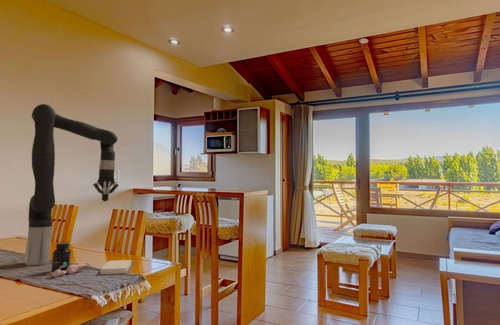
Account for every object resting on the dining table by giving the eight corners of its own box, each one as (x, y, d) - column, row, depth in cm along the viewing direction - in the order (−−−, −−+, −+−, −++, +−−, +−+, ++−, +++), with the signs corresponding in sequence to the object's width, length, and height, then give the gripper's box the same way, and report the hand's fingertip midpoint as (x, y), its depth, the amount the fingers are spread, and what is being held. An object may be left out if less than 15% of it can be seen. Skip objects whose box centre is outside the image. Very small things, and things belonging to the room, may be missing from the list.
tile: (108, 260, 144) (100, 268, 130) (131, 260, 146) (126, 268, 132) (108, 265, 144) (100, 274, 129) (131, 265, 146) (126, 273, 132)
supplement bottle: (50, 274, 130) (52, 245, 131) (51, 270, 136) (54, 242, 137) (69, 272, 133) (71, 244, 134) (70, 268, 139) (72, 241, 141)
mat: (108, 264, 149) (108, 262, 149) (135, 263, 152) (135, 262, 152) (96, 277, 128) (97, 275, 128) (128, 275, 131) (128, 274, 131)
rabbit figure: (51, 283, 123) (91, 270, 134) (49, 268, 123) (89, 256, 134) (46, 280, 127) (85, 267, 138) (44, 265, 127) (83, 254, 138)
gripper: (96, 168, 162) (93, 201, 160) (121, 169, 171) (120, 201, 169) (91, 168, 167) (89, 201, 166) (116, 169, 176) (115, 200, 175)
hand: (104, 201), depth 168 cm, fingers closed
